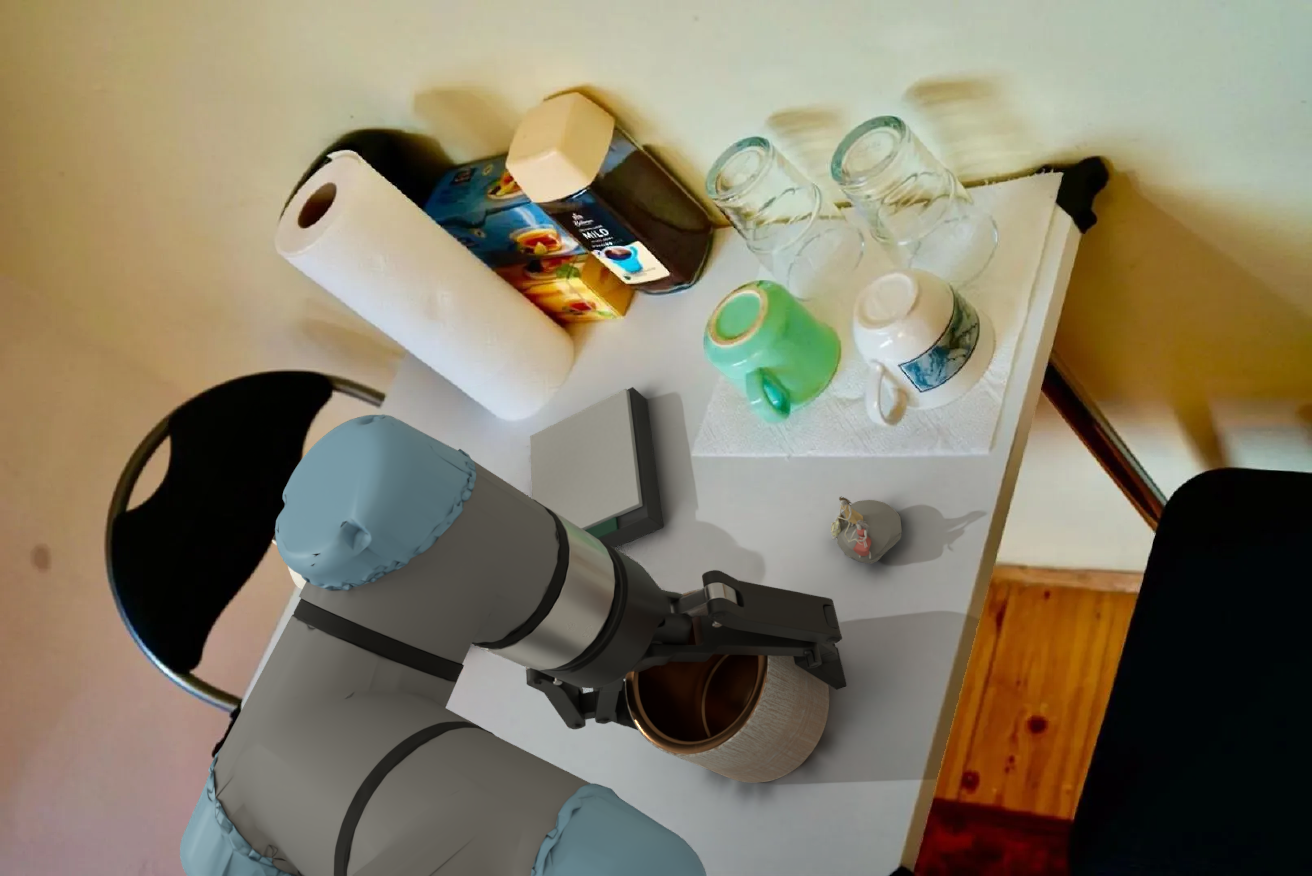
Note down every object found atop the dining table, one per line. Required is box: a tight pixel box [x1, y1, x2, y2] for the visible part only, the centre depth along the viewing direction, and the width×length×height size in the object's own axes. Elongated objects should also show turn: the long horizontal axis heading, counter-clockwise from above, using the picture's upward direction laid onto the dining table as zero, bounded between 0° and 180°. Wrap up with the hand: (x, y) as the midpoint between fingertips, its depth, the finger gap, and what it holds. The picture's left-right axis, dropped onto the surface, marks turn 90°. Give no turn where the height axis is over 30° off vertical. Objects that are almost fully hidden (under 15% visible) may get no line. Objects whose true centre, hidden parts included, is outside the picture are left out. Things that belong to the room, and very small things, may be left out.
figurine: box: [830, 495, 903, 564], centre depth 62 cm, size 5×4×6 cm
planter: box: [624, 588, 830, 784], centre depth 60 cm, size 11×11×10 cm
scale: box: [529, 386, 664, 549], centre depth 81 cm, size 14×12×3 cm
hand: (750, 696), depth 62 cm, fingers open, 12 cm apart
